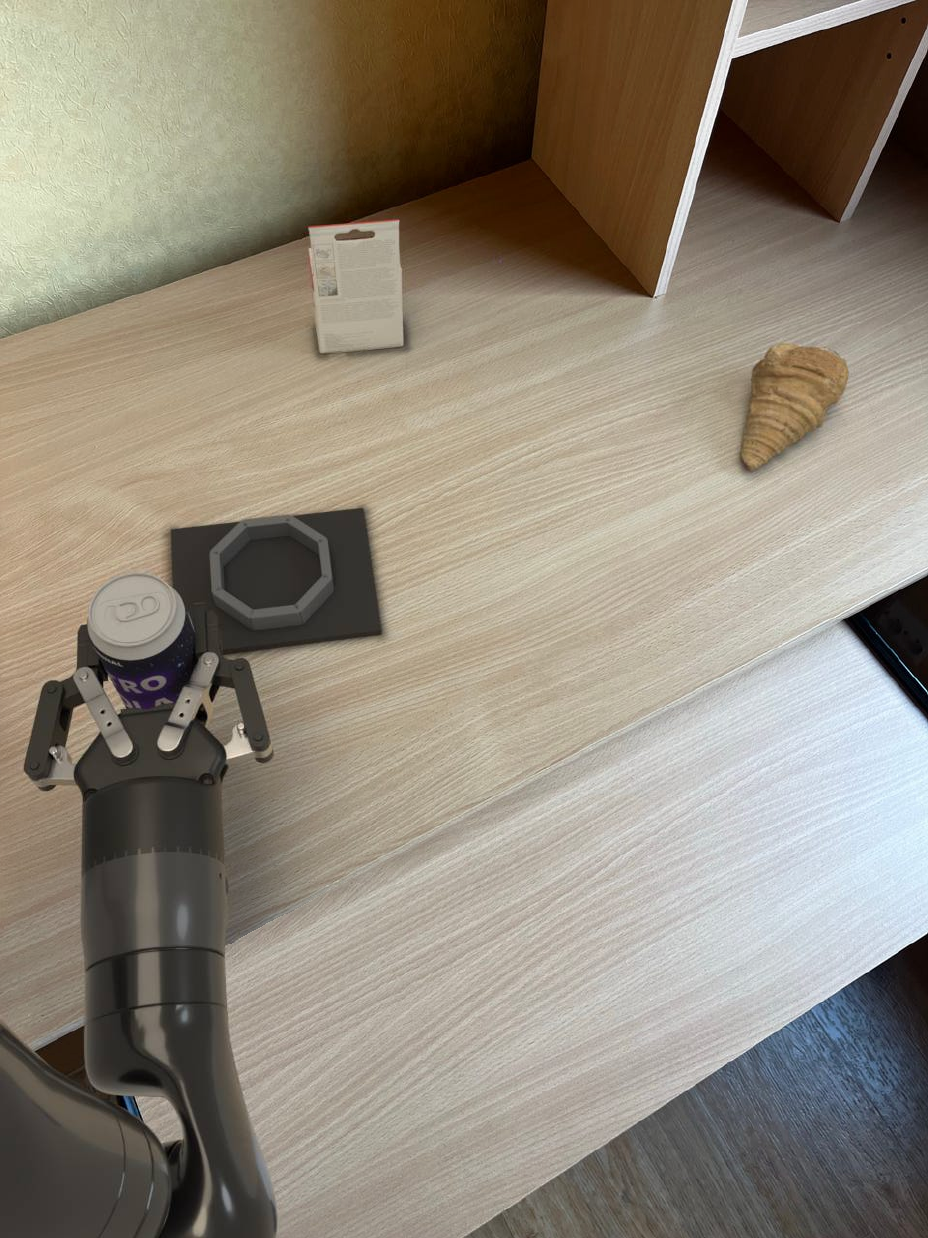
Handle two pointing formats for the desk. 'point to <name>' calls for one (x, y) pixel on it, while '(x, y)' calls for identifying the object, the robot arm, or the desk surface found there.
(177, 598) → the beverage can
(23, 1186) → the robot arm
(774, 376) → the seashell
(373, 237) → the ink box
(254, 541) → the socket pad
